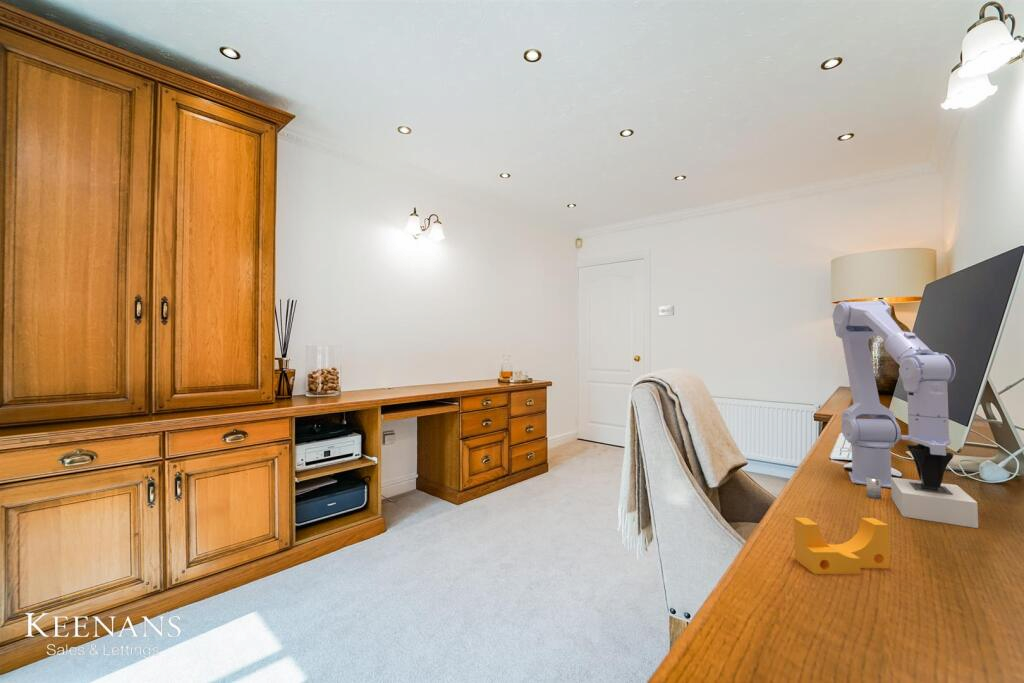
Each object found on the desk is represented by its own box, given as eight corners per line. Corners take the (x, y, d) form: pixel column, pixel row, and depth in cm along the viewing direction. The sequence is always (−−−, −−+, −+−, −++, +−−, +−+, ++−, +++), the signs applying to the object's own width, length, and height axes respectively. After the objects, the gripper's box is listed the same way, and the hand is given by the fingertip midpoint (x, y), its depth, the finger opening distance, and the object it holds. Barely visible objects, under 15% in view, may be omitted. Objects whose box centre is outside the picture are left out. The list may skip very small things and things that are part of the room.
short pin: (866, 494, 94) (865, 476, 94) (880, 496, 92) (879, 478, 92) (867, 497, 92) (867, 479, 92) (882, 499, 90) (881, 480, 90)
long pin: (919, 493, 85) (918, 461, 85) (936, 495, 84) (935, 462, 84) (923, 497, 83) (922, 464, 83) (940, 499, 82) (939, 465, 82)
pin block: (891, 498, 91) (890, 476, 91) (957, 507, 86) (956, 483, 86) (902, 516, 81) (902, 491, 81) (978, 528, 76) (977, 501, 76)
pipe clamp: (814, 574, 61) (812, 529, 61) (795, 560, 65) (793, 517, 65) (900, 575, 61) (898, 529, 61) (875, 560, 65) (874, 518, 65)
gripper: (893, 409, 92) (895, 472, 92) (908, 418, 80) (910, 491, 80) (939, 411, 88) (941, 477, 88) (961, 421, 76) (963, 498, 76)
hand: (930, 484), depth 84 cm, fingers closed on long pin, 2 cm apart
